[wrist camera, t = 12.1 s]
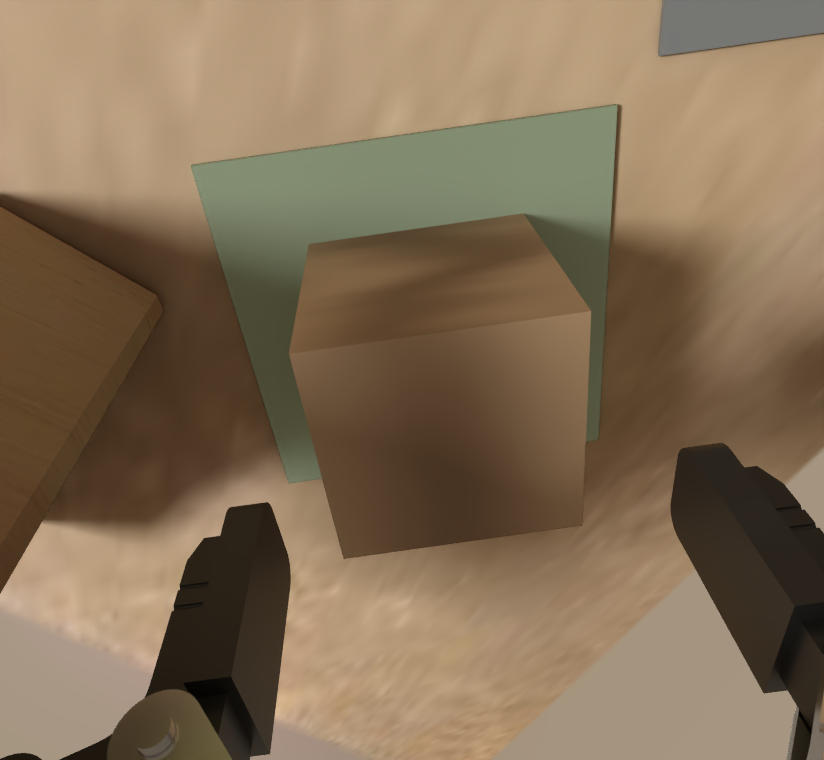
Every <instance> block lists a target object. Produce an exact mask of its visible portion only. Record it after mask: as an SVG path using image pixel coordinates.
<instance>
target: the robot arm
mask: <svg viewBox="0 0 824 760" xmlns="http://www.w3.org/2000/svg"><path fill="white" fill-rule="evenodd" d="M671 517H672V522H673V526H674V529H675V532H676V534H677V536H678V538H679V540H680V542H681V544H682V545H683V547H684V549H685V551H686V553H687V554H688V556H689V558H690V560H691V562H692V564H693V565H694V567H695V569H696V571H697V573H698V574H699V576H700V578H701V580H702V582H703V584H704V585H705V587H706V589H707V591H708V592H709V595H710V596H711V598H712V600H713V602H714V604H715V605H716V607H717V609H718V611H719V613H720V614H721V616H722V618H723V620H724V622H725V623H726V625H727V627H728V629H729V631H730V633H731V635H732V636H733V638H734V640H735V641H736V643H737V645H738V647H739V649H740V651H741V653H742V655H743V656H744V658H745V660H746V662H747V664H748V666H749V667H750V669H751V671H752V673H753V675H754V676H755V678H756V680H757V682H758V684H759V685H760V687H761V689H762V691H763V693H770V692H777V691H786V690H788V691H789V693H790V695H791V696H792V698H793V700H794V701H795V703H796V705H797V708H796V711H795V714H794V719H793V724H792V730H791V736H790V743H789V748H788V753H787V760H824V534H823V532H822V531H821V529H820V528H816V526H815V522H814V521H813V520H812V518H811V517H810V516H809V515H808V513H807V512H806V511H805V510H802V509H801V505H800V504H799V503H798V501H797V500H796V499H795V497H794V496H793V495H792V494H791V493H790V491H789V490H788V489H787V488H786V486H785V485H784V484H783V483H782V482H780V481H779V480H777V479H776V478H774V477H773V476H771V475H770V474H768V473H767V472H765V471H764V470H762V469H761V468H759V467H758V466H753V467H746V468H744V467H743V465H742V464H741V463H740V461H739V460H738V459H737V458H736V456H735V455H734V454H733V452H732V451H731V450H730V448H729V447H728V446H727V445H725V444H723V443H717V444H710V445H702V446H695V447H687V448H682V449H681V450H680V452H679V454H678V459H677V466H676V472H675V479H674V485H673V492H672V498H671ZM290 581H291V575H290V563H289V558H288V554H287V551H286V548H285V545H284V542H283V539H282V536H281V533H280V530H279V527H278V524H277V522H276V519H275V516H274V513H273V510H272V507H271V506H270V504H269V503H268V502H266V503H259V504H251V505H244V506H236V507H230V508H229V509H228V510H227V513H226V516H225V520H224V524H223V528H222V532H221V536H216V537H209V538H204V539H203V540H202V542H201V543H200V544H199V546H198V547H197V548H196V550H195V551H194V552H193V554H192V555H191V556H190V558H189V559H188V560H187V563H186V566H185V569H184V573H183V576H182V579H181V583H180V590H178V593H177V596H176V599H175V603H174V611H172V613H171V616H170V619H169V623H168V626H167V629H166V633H165V636H164V639H163V643H162V646H161V649H160V653H159V656H158V659H157V663H156V666H155V669H154V673H153V676H152V679H151V683H150V686H149V689H148V692H147V694H146V696H145V698H144V699H142V700H141V701H139V702H138V703H137V704H135V705H134V706H133V707H132V708H131V709H130V710H129V711H128V712H127V713H126V714H125V715H124V716H123V718H122V719H121V720H120V721H119V723H118V724H117V726H116V728H115V729H114V731H113V734H111V735H110V736H108V737H107V738H105V739H103V740H101V741H99V742H98V743H96V744H93V745H91V746H89V747H87V748H85V749H82V750H80V751H78V752H75V753H73V754H71V755H69V756H67V757H64V758H62V759H60V760H250V757H251V756H259V755H266V754H270V749H271V741H272V732H273V724H274V716H275V708H276V699H277V691H278V683H279V675H280V666H281V658H282V650H283V642H284V633H285V625H286V617H287V609H288V600H289V592H290ZM0 760H42V759H40V758H39V757H37V756H35V755H33V754H28V753H19V754H13V755H10V756H7V757H4V758H2V759H0Z"/></svg>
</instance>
